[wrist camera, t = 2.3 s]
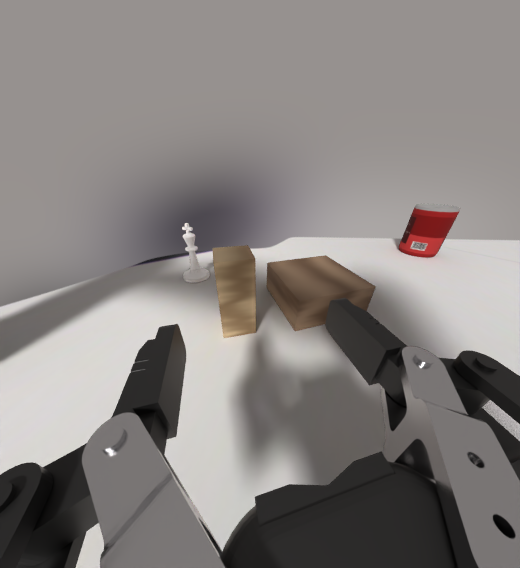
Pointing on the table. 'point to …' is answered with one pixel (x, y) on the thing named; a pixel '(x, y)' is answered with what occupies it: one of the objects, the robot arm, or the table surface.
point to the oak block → (236, 289)
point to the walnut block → (314, 289)
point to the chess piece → (193, 259)
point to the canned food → (427, 229)
